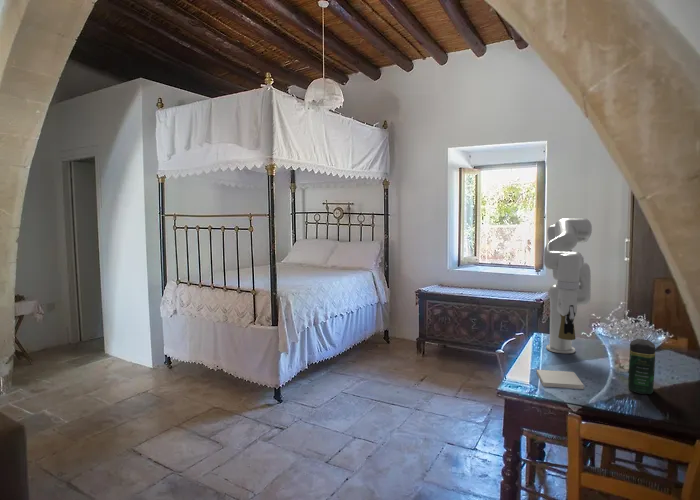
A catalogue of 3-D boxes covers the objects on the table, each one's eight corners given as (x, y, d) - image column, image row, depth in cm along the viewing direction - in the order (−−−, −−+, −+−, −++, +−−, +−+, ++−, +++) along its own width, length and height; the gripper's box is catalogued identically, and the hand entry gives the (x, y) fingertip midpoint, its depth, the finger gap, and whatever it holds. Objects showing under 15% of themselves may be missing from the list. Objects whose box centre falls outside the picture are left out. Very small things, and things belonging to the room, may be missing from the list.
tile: (536, 373, 181) (536, 369, 181) (573, 375, 178) (573, 371, 178) (543, 386, 167) (543, 382, 167) (583, 389, 164) (583, 385, 164)
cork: (577, 340, 168) (578, 311, 167) (560, 339, 169) (561, 311, 168) (572, 335, 174) (573, 308, 173) (556, 335, 175) (557, 308, 174)
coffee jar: (653, 397, 156) (656, 345, 155) (627, 392, 161) (629, 342, 159) (653, 387, 164) (655, 339, 163) (628, 383, 169) (630, 336, 167)
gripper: (552, 282, 179) (551, 326, 180) (563, 289, 162) (562, 337, 164) (572, 282, 177) (571, 327, 179) (585, 289, 161) (584, 338, 162)
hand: (566, 331), depth 171 cm, fingers closed on cork, 3 cm apart
